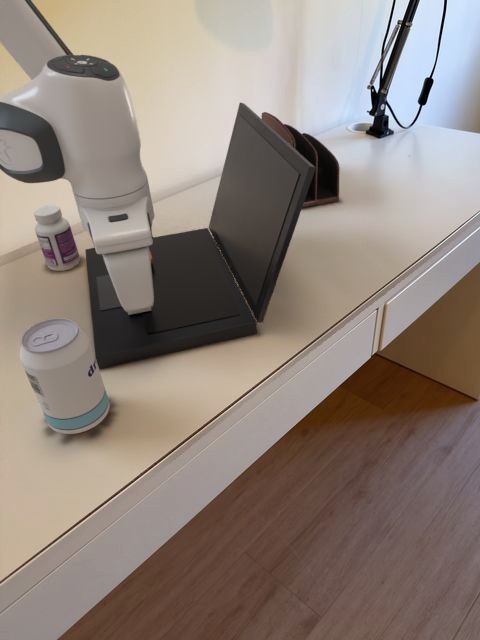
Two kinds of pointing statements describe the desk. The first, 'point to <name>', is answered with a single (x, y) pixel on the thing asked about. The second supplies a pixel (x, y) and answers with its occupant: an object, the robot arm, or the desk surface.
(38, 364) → the beverage can
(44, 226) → the pill bottle
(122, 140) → the robot arm
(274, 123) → the letter holder
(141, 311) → the white flat square block
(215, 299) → the laptop
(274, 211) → the laptop screen
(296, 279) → the desk surface
